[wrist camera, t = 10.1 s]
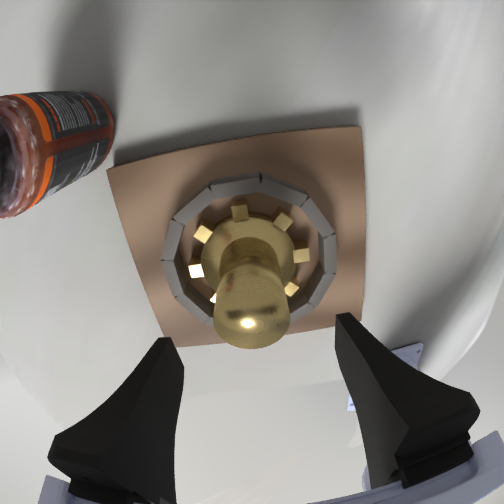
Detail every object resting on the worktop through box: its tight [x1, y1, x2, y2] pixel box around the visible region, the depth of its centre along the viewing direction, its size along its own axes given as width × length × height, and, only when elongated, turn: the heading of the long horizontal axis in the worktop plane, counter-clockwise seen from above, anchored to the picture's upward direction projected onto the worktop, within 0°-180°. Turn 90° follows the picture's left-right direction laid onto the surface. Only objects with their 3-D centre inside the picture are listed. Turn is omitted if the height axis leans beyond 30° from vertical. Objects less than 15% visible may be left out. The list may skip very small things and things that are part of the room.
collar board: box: [106, 125, 366, 347], centre depth 20 cm, size 15×16×3 cm
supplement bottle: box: [0, 91, 114, 218], centre depth 11 cm, size 6×6×11 cm
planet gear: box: [188, 199, 310, 349], centre depth 17 cm, size 8×8×7 cm
